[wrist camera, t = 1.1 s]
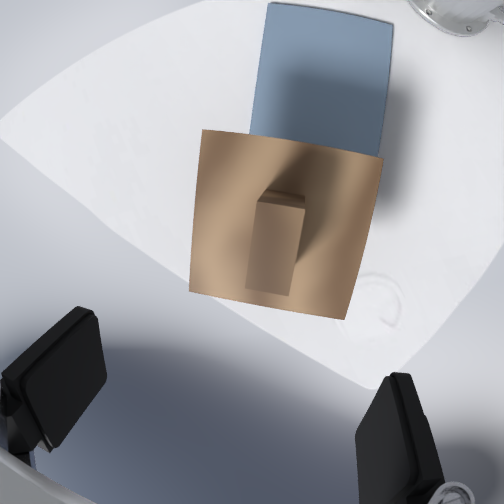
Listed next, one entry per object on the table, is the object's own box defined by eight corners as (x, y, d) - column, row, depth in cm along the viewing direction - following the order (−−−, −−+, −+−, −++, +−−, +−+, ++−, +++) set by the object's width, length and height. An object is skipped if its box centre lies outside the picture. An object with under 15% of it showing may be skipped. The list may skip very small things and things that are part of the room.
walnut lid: (380, 158, 23) (403, 163, 17) (343, 314, 28) (350, 354, 22) (206, 129, 24) (178, 127, 19) (192, 286, 29) (168, 319, 24)
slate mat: (391, 26, 26) (392, 25, 26) (376, 156, 32) (377, 157, 31) (268, 5, 28) (268, 3, 27) (250, 134, 33) (249, 134, 33)
